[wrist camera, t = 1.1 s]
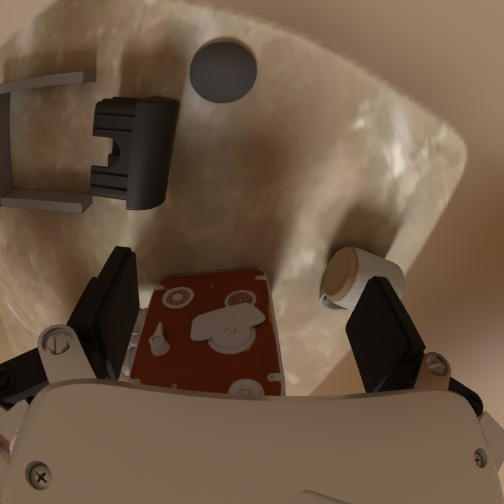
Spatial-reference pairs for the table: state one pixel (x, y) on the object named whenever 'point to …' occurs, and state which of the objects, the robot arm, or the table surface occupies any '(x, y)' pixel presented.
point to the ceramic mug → (355, 277)
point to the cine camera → (208, 335)
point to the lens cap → (223, 72)
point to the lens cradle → (3, 191)
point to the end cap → (135, 149)
